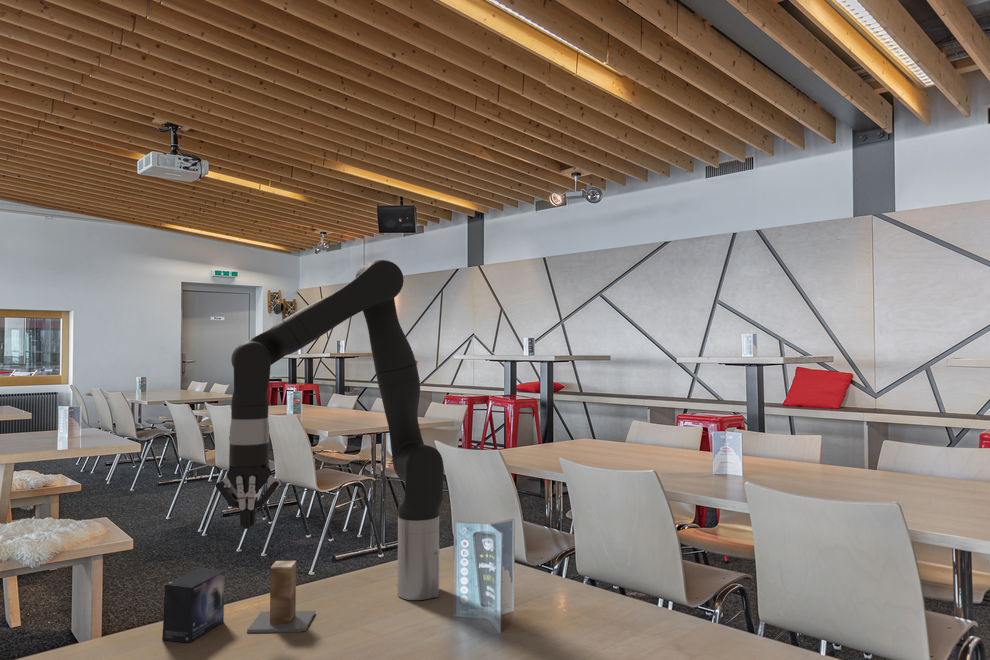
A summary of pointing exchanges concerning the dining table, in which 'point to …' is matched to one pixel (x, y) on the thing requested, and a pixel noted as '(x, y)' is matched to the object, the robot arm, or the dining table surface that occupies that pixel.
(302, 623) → the slate pad
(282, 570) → the walnut block
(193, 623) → the small box
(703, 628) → the dining table surface
